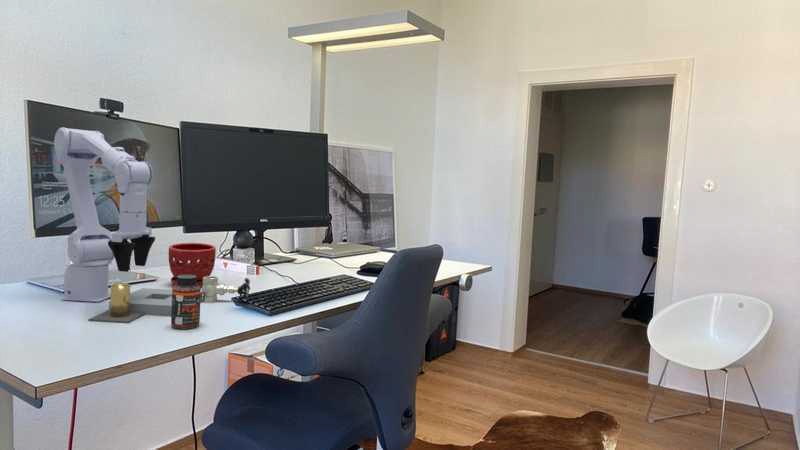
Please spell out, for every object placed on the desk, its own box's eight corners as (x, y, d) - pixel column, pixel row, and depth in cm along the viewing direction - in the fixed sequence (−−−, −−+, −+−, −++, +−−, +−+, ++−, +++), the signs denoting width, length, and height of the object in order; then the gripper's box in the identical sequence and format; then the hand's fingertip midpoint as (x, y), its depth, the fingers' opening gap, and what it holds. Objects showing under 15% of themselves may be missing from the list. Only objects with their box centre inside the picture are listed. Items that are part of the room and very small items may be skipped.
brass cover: (107, 316, 120) (107, 285, 119) (115, 312, 124) (115, 281, 123) (125, 317, 120) (125, 285, 120) (132, 313, 124) (133, 282, 124)
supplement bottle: (182, 331, 114) (183, 279, 113) (165, 326, 117) (166, 275, 116) (205, 325, 119) (206, 276, 118) (188, 320, 122) (189, 272, 121)
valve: (198, 304, 138) (245, 305, 139) (199, 279, 137) (246, 280, 139) (204, 298, 144) (249, 299, 146) (205, 274, 144) (250, 276, 145)
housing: (109, 312, 125) (109, 302, 125) (142, 297, 141) (142, 288, 141) (176, 316, 125) (176, 306, 125) (202, 300, 141) (202, 291, 141)
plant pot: (158, 284, 157) (159, 244, 156) (196, 279, 168) (197, 241, 167) (186, 292, 150) (187, 250, 149) (224, 285, 161) (225, 246, 160)
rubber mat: (88, 320, 118) (88, 319, 118) (110, 310, 127) (110, 309, 127) (128, 323, 118) (128, 321, 118) (147, 312, 127) (148, 311, 127)
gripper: (133, 215, 118) (132, 275, 120) (164, 211, 133) (162, 264, 134) (102, 213, 119) (102, 272, 120) (136, 209, 133) (135, 262, 134)
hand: (132, 268), depth 127 cm, fingers open, 7 cm apart
